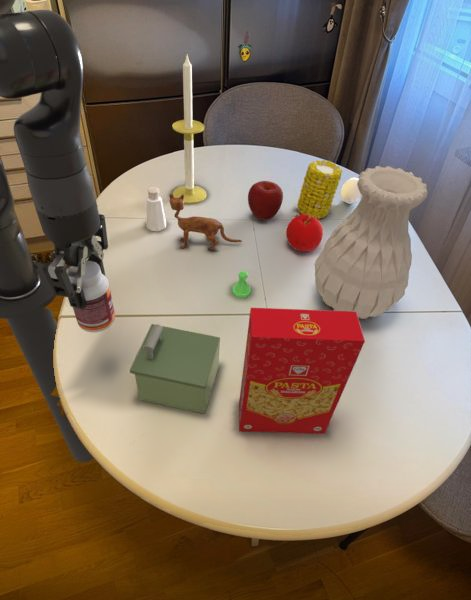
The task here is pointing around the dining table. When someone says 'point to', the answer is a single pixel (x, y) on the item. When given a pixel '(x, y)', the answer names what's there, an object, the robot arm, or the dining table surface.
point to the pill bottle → (94, 300)
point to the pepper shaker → (155, 211)
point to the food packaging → (296, 368)
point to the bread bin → (177, 391)
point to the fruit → (304, 232)
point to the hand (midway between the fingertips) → (89, 291)
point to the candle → (188, 141)
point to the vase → (371, 245)
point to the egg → (350, 191)
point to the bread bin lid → (176, 356)
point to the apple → (265, 199)
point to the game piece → (242, 286)
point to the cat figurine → (197, 224)
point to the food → (319, 188)
